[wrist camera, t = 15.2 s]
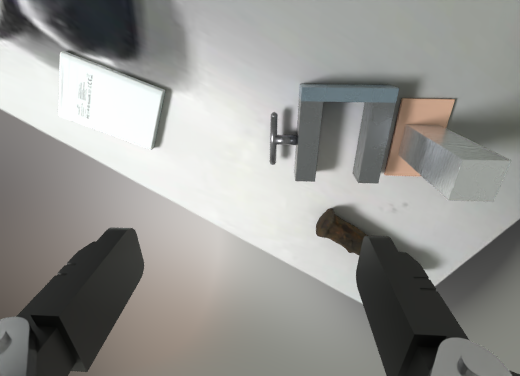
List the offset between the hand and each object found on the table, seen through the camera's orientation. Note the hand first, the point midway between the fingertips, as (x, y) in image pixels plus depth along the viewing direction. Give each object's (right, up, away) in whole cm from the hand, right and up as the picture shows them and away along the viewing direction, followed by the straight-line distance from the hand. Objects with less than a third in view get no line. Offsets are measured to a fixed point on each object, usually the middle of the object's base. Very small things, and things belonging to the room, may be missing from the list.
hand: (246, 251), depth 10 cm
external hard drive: (-19, +14, +27) cm, 35 cm away
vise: (+9, +10, +26) cm, 29 cm away
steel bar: (+20, +8, +25) cm, 34 cm away
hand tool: (+18, -6, +34) cm, 39 cm away
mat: (+20, +9, +26) cm, 34 cm away
